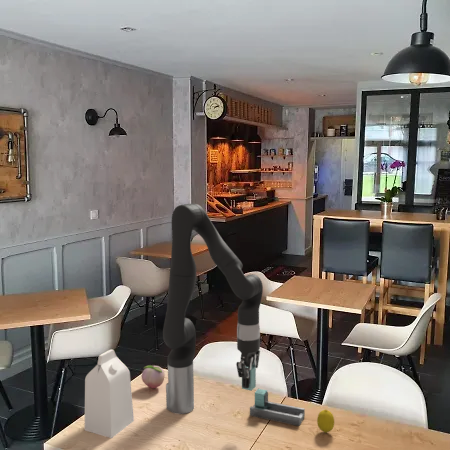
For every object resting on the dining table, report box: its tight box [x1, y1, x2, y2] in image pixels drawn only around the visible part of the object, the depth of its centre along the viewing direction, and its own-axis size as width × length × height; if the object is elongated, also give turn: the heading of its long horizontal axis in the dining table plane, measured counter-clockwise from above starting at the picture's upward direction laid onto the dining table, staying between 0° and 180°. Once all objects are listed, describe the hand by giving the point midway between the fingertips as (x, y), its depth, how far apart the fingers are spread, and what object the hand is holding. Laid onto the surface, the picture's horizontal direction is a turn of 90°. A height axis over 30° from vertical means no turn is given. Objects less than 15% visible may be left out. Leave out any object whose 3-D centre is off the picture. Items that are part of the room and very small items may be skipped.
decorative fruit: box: [141, 365, 166, 389], centre depth 193 cm, size 9×8×10 cm
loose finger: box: [241, 366, 257, 391], centre depth 162 cm, size 4×4×7 cm
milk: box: [84, 349, 135, 439], centre depth 165 cm, size 12×12×26 cm
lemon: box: [316, 409, 335, 434], centre depth 160 cm, size 6×6×8 cm
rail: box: [249, 388, 306, 427], centre depth 171 cm, size 18×7×8 cm, turn 66°
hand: (248, 384), depth 162 cm, fingers closed on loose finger, 4 cm apart
